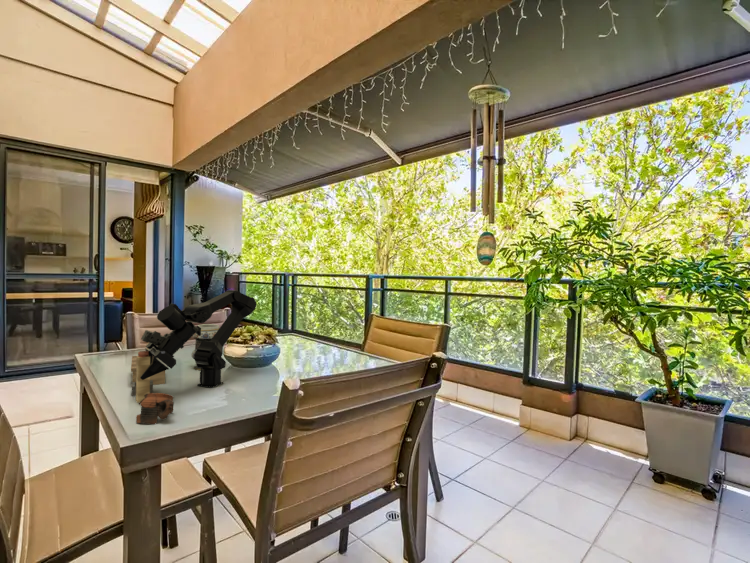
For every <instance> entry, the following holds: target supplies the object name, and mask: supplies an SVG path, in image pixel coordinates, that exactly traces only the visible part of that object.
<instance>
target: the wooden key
mask: <svg viewBox="0 0 750 563" xmlns="http://www.w3.org/2000/svg"><path fill="white" fill-rule="evenodd" d="M136 356H137V359H136V396H135V402H136V403H137V404H139V403H140V402H141V401H142V400H143V399H144V398H145V397H144V395H145V394H149V393H150V377H149V378H146V379H144V380H142V379H141V378H140V377H141V376H142V374H143V373H144V372H145V370H146V369H147V368H148V367H149V365H150V356H149V351H145V350H141V351H138V353H137V355H136Z"/></svg>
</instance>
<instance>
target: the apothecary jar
mask: <svg viewBox="0 0 750 563" xmlns="http://www.w3.org/2000/svg"><path fill="white" fill-rule="evenodd" d="M197 326H199V327H200V328H201V336H199V335H197V334H196V333H195V334H194V335H193V336H192V338H194V340H195V344H194V345H195V347H194V350H193V351H192V352H191V357H192V359H194V361H195V358H194V354H195V352H196V351H197V350H196V348H198V347H199V345H200V344H201V342H202V341H210V340H211V339H212V338H213V336H214V335H215V334H216V332H217V331H218V330H219V328H220V325H219V324H210V323H201V324H198V325H197ZM193 368H194V370H197V371H201V368H197V365H195V366H194V367H193Z"/></svg>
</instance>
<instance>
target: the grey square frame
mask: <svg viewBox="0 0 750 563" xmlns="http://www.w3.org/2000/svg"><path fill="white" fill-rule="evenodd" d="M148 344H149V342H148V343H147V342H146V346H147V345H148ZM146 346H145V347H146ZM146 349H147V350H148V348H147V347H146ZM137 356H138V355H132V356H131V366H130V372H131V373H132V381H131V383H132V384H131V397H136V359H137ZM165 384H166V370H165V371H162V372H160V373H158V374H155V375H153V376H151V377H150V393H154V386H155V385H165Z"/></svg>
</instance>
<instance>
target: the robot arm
mask: <svg viewBox="0 0 750 563" xmlns="http://www.w3.org/2000/svg"><path fill="white" fill-rule="evenodd" d="M228 305H231V312H230V314H229V315H228V316H227V318H225V320H224V322H223V323H222V324H221V325H220V326H219V330H218V331H217V332H216V334H215V335H214V336H213V338H212V339H211V340H210V341H202V342H201V344H200V345H199V347H198V348H196V350H197V351H196V352H195V354H194V358H195V360H194V362H195V366H197V368H201V370H199V383H197V385H196V386H197V387H202V388H210V389H213V388H216V387H218V386H220V385H222V384H224V381H222V370H223V369H225V368H226V364H227V361H226V360H225V359H224V358H223V357H222V356H223V350H224V348H223V347H224V346H225V345H226V343H227V342H228V340H229V339H230V337H231V336H232V334H234V331H236V328H238V326H239V325H240V323H241V322H242V321H243V319H244V318H247V317H248V316H250V315H251V314H252V313H253V312H254V311H255V310H256V308H257V305H258V304H257V300H256V299H255V298H254V297H251V296H249V295H246V294H244V293H242V292H240V291H238V290H237V289H236V290H235V289H227V290H226V291H224V292H223V293H221V294H219V295H218V294H217V296H214V297H212V298H210V299H209V300H207V301H205V302H200V303H194V304H190V305H187V306H186V307H184V308H183V309H181V308H179V306H178V305H177V304H176V303H170V304H169V305H168V306H166V307H164V308H162V309H161V310H160V311H159V312H158V313H157V315H156V318H157V320H158V321H159V322H160V323H162V325H164V326H165V327H166V328H167V329H168V330H169V331H171V332H169V333H168V332H167V333H165V334H164V335H162V334H161V332H158V331H156V330H154V331H150V330H147V329H145V330H144V333H143V335H142V337H141V339H140V340H141V341H143V342H145V343H146V344H147V343H149V344H148V345H147V346H145V348H144V351H149V356H150V365H149V367H148V368H147V369H146V370H145V372H144V373H143V374H142V376H141V377H140V378H141V379H142V380H144V379H146V378H149V377H151V376H153V375H155V374H158V373H160V372H162V371H165V372H166V371H168V370H169V369H173V368H174V367H175V366H176V365H177V360H176V358H175V354H176V353H177V352H178V351H179V350H180V349H182V350H183V349H184V347H185V346H184V345H185V344H186V343H187V342H188V341H189V340H190V339H191V338H193V335H194V334H195V333H196V334H197V335H199V336H201V328H200V327H199V326H198V325H195V324H205V323H206V322H207V321H208V320H210V319H211V317H212V316H213V314H214V313H216V312H217V311H219V310H221V309H223V308H224V307H226V306H228ZM194 323H195V324H194ZM147 348H148V350H147Z"/></svg>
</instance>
